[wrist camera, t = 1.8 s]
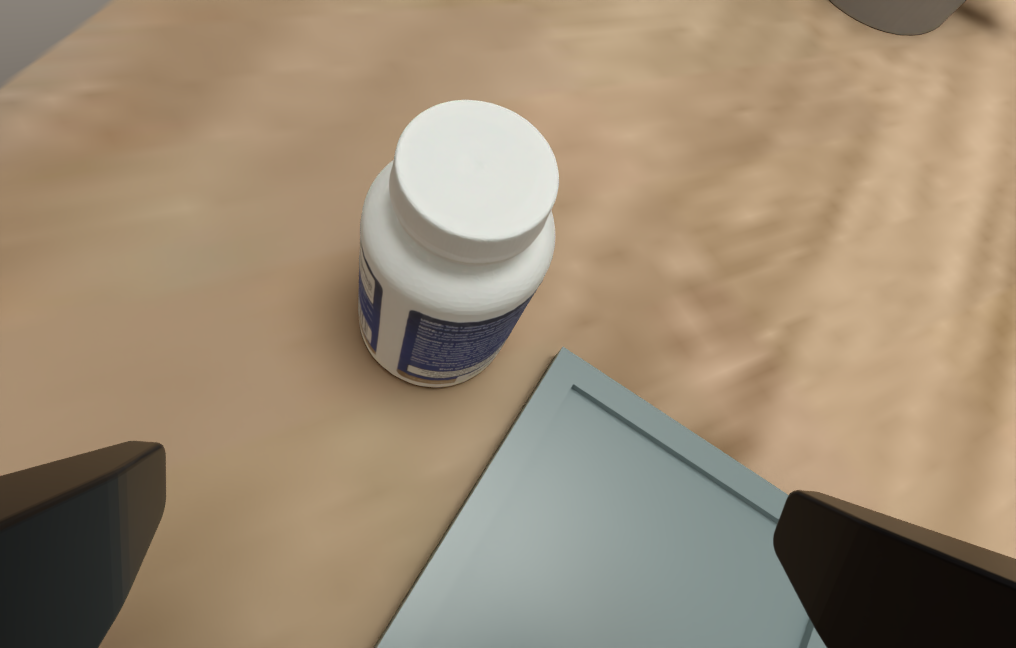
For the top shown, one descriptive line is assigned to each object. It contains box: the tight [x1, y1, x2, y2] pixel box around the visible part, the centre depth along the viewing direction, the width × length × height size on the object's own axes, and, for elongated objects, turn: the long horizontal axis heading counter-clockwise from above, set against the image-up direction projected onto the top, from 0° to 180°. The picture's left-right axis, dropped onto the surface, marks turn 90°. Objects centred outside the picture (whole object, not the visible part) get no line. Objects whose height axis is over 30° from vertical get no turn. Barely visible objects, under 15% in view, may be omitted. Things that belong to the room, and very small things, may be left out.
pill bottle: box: [358, 100, 559, 387], centre depth 20 cm, size 5×5×10 cm
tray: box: [374, 347, 827, 648], centre depth 22 cm, size 13×13×1 cm
